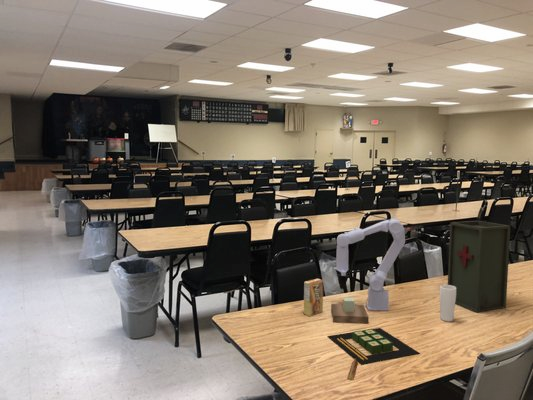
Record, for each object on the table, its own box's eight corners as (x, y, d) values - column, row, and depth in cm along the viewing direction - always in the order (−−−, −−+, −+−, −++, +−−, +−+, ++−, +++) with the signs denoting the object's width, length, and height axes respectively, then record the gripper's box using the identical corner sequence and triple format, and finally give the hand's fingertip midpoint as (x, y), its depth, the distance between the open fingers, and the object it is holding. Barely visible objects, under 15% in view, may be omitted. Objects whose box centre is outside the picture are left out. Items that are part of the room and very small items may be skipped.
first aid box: (505, 308, 203) (510, 225, 199) (477, 313, 196) (481, 228, 192) (474, 296, 220) (477, 220, 216) (446, 300, 213) (450, 222, 209)
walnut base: (363, 311, 198) (363, 305, 198) (368, 323, 184) (368, 316, 183) (331, 310, 200) (331, 304, 199) (333, 322, 185) (333, 315, 185)
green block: (353, 308, 193) (353, 297, 193) (354, 312, 189) (354, 301, 188) (343, 308, 194) (343, 297, 193) (344, 311, 189) (344, 300, 189)
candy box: (316, 309, 200) (317, 278, 199) (323, 312, 197) (323, 280, 196) (303, 314, 195) (303, 281, 193) (309, 316, 192) (310, 283, 190)
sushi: (327, 338, 170) (327, 329, 170) (380, 329, 178) (380, 321, 178) (361, 366, 147) (361, 356, 146) (420, 355, 155) (420, 345, 155)
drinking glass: (455, 318, 190) (456, 285, 188) (454, 323, 184) (456, 290, 182) (438, 316, 192) (440, 283, 191) (438, 321, 186) (439, 288, 185)
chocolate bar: (346, 380, 137) (346, 373, 137) (351, 363, 148) (351, 357, 148) (354, 381, 136) (354, 374, 136) (358, 364, 148) (359, 358, 147)
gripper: (332, 255, 212) (332, 281, 213) (335, 262, 198) (334, 290, 199) (347, 255, 211) (346, 282, 213) (350, 262, 197) (349, 291, 198)
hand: (341, 286), depth 206 cm, fingers open, 7 cm apart
